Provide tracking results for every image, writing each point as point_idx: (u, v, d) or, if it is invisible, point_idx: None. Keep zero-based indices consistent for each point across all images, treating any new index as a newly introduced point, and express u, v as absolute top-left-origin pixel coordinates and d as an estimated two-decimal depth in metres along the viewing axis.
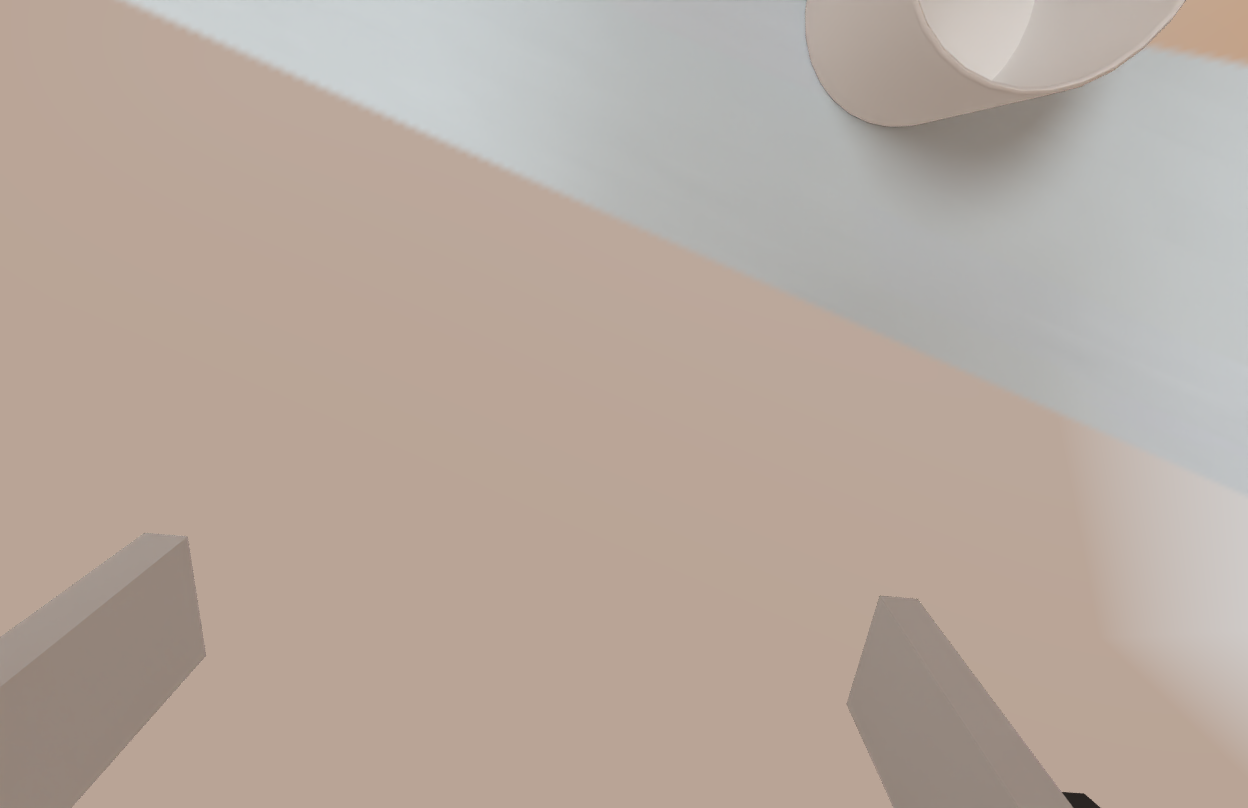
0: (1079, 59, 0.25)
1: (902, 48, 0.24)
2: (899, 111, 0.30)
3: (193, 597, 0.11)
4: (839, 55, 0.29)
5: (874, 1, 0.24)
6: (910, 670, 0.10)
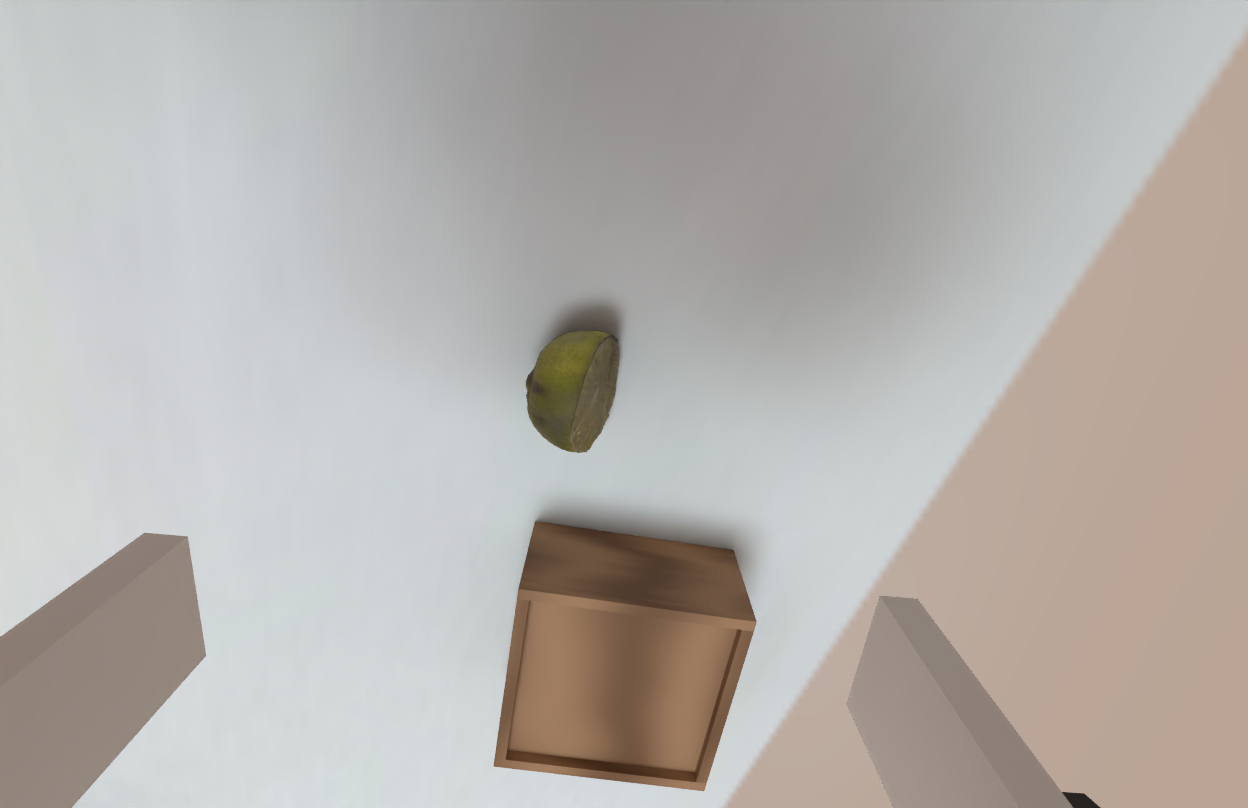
0: None
1: None
2: None
3: (194, 597, 0.11)
4: None
5: None
6: (910, 670, 0.10)
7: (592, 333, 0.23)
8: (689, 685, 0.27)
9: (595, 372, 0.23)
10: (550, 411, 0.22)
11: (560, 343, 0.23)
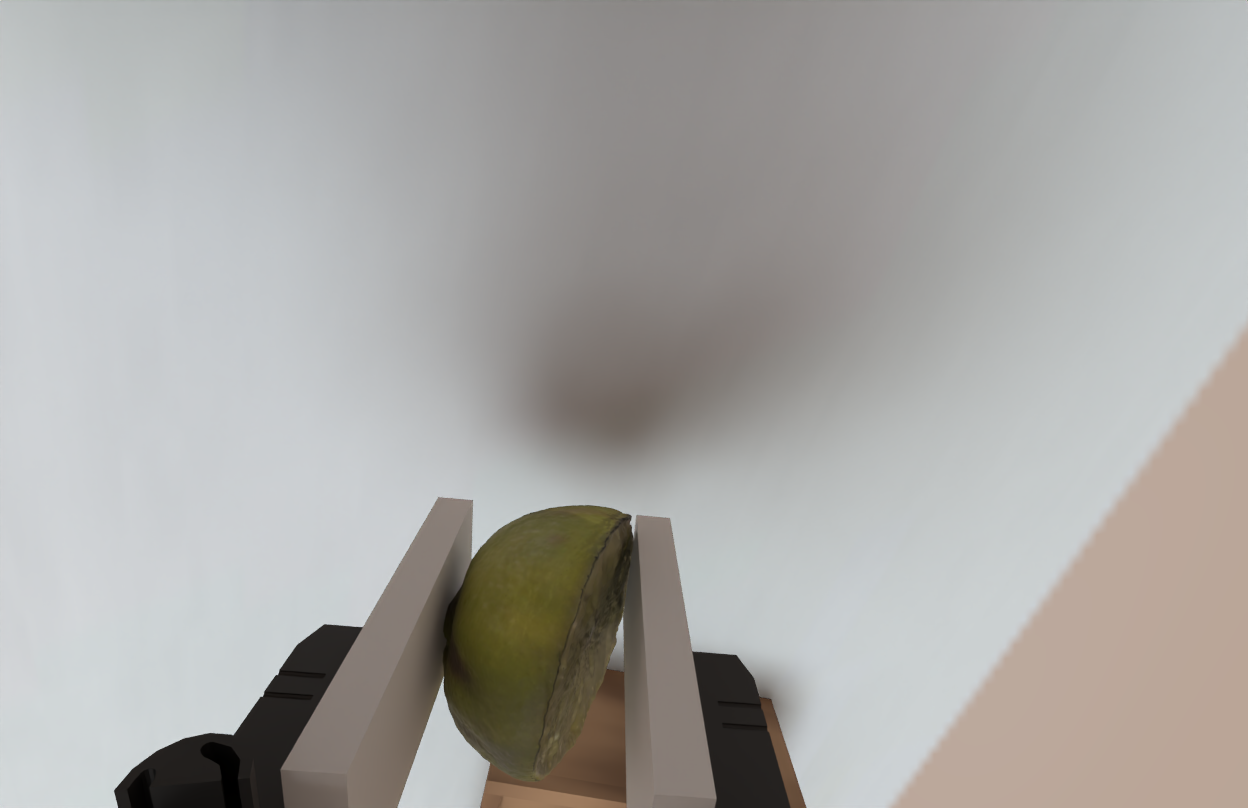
0: None
1: None
2: None
3: (469, 551, 0.13)
4: None
5: None
6: (636, 569, 0.12)
7: (579, 524, 0.11)
8: None
9: (586, 613, 0.11)
10: (485, 730, 0.10)
11: (509, 555, 0.10)
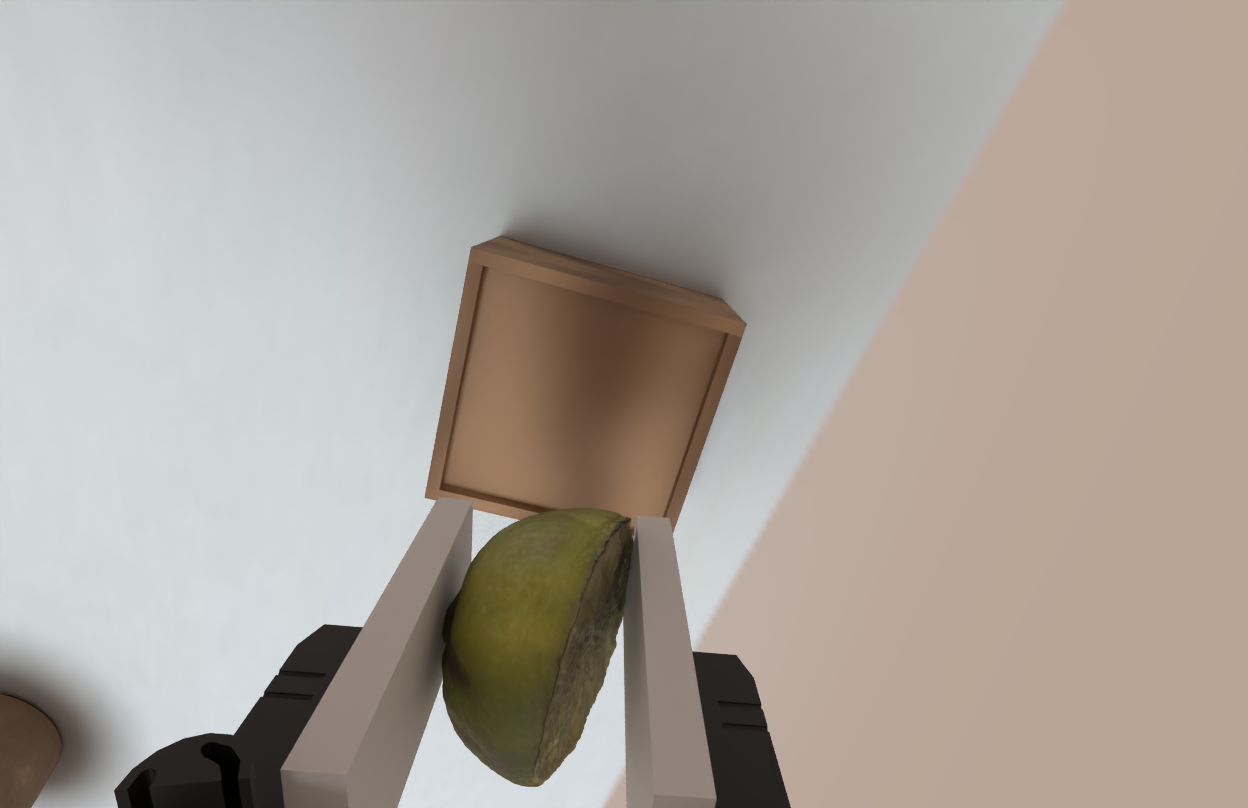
0: None
1: None
2: None
3: (469, 551, 0.13)
4: None
5: None
6: (636, 569, 0.12)
7: (578, 528, 0.11)
8: (661, 413, 0.23)
9: (586, 617, 0.11)
10: (484, 735, 0.09)
11: (508, 558, 0.10)
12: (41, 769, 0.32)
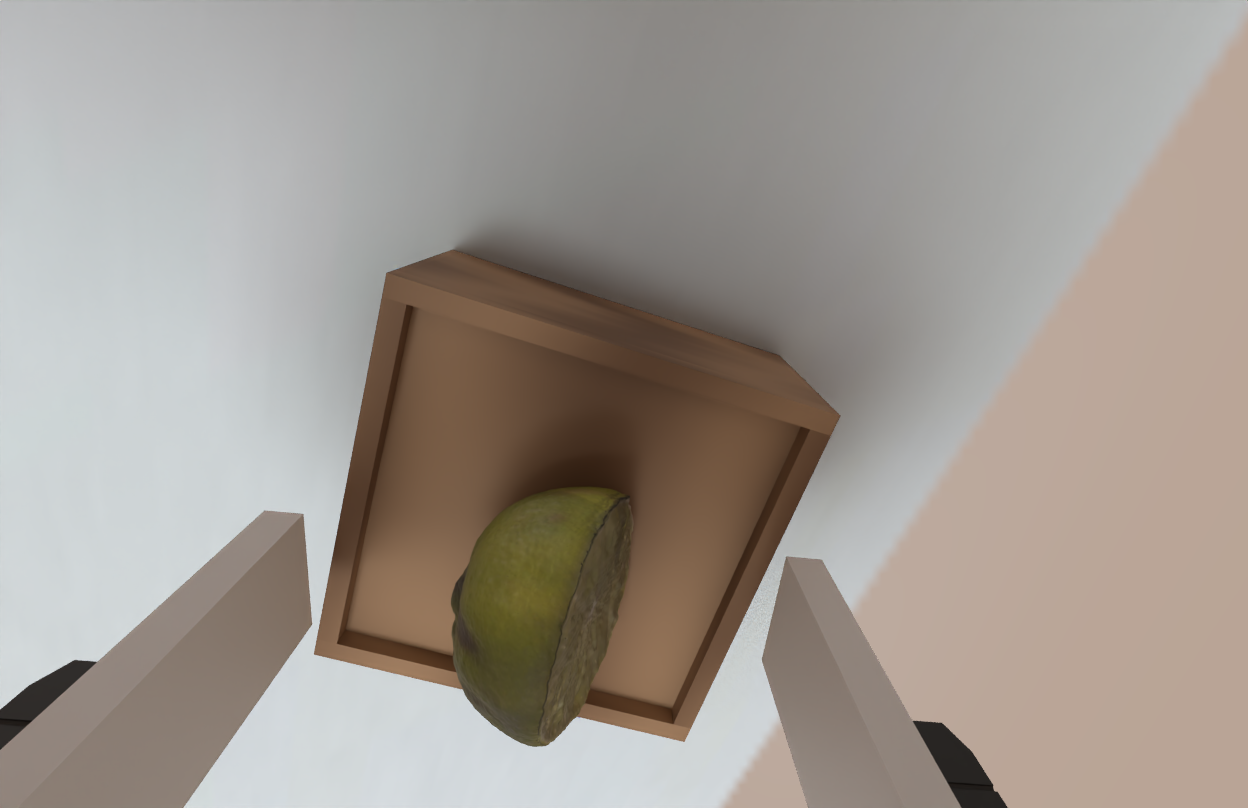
0: None
1: None
2: None
3: (305, 569, 0.12)
4: None
5: None
6: (804, 620, 0.11)
7: (578, 504, 0.11)
8: (689, 541, 0.15)
9: (586, 588, 0.11)
10: (492, 696, 0.10)
11: (512, 533, 0.11)
12: None
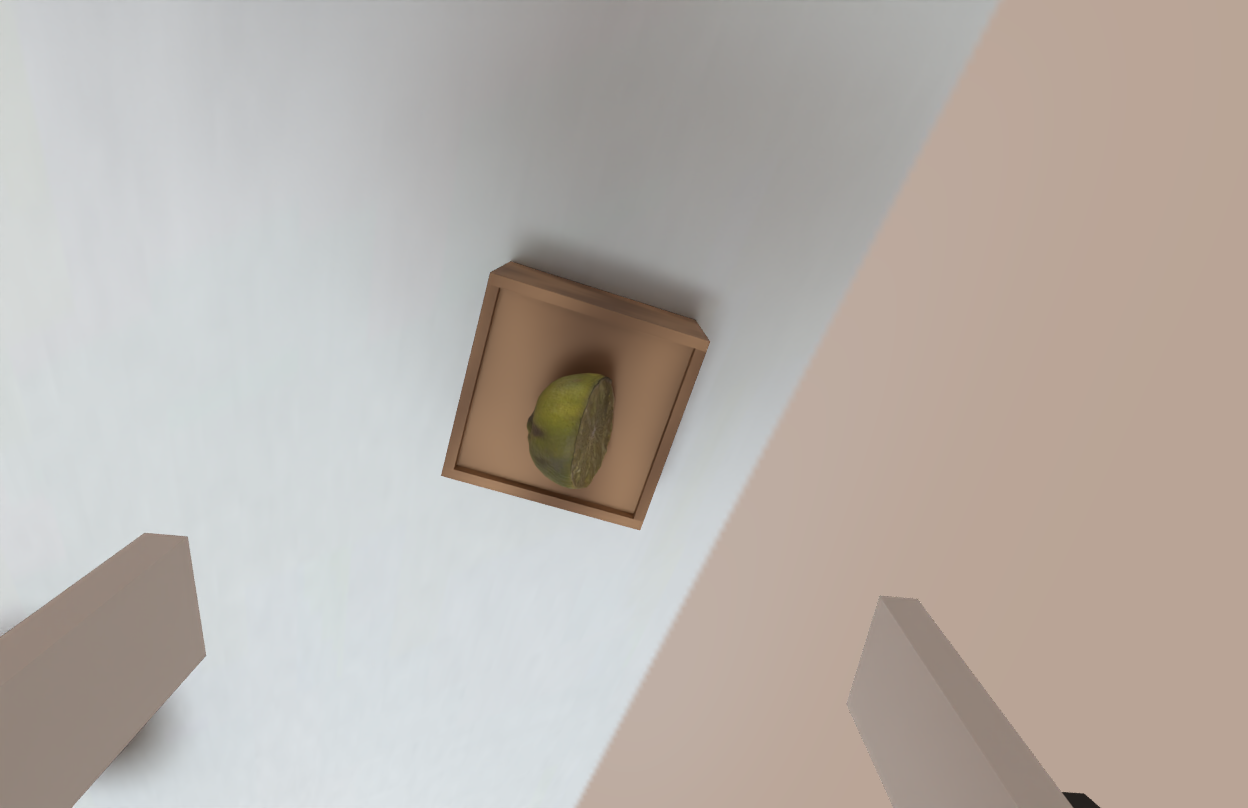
0: None
1: None
2: None
3: (194, 597, 0.11)
4: None
5: None
6: (910, 670, 0.10)
7: (587, 376, 0.25)
8: (639, 412, 0.28)
9: (591, 413, 0.24)
10: (550, 453, 0.23)
11: (557, 387, 0.24)
12: None
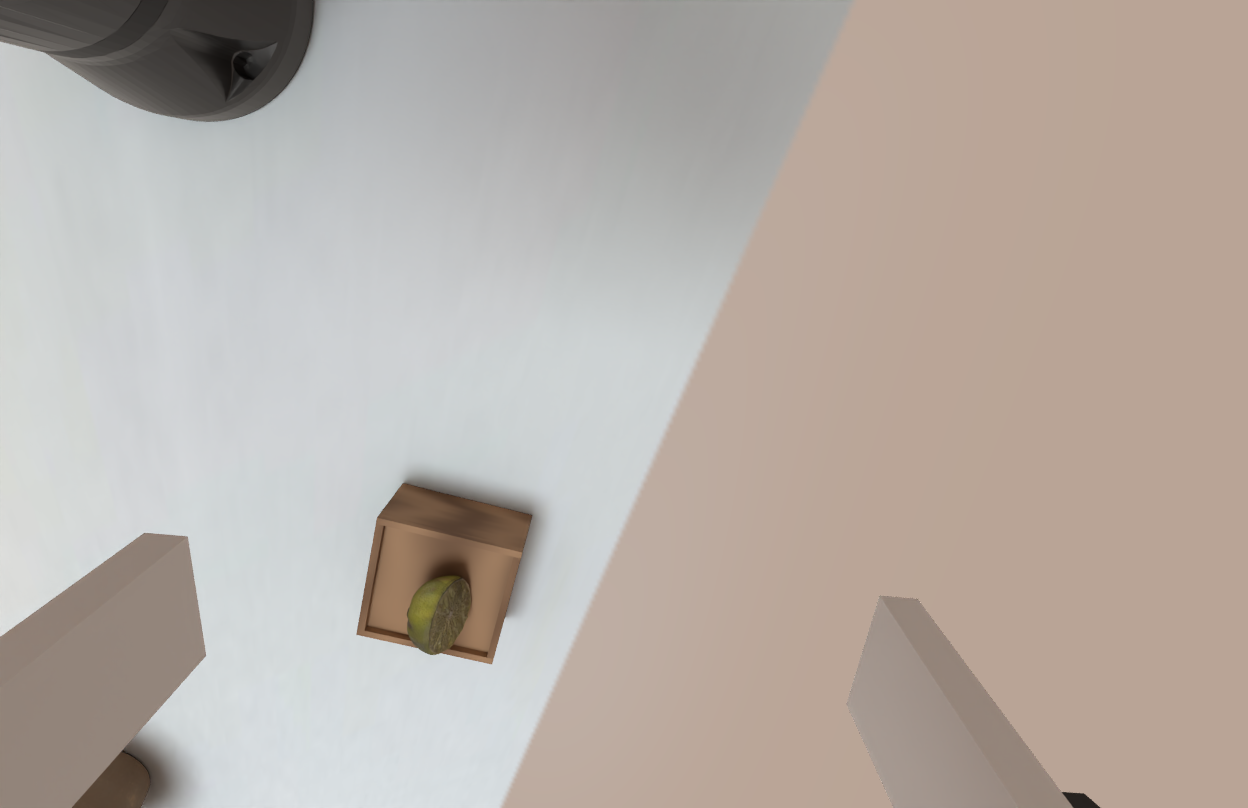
0: None
1: None
2: None
3: (194, 597, 0.11)
4: None
5: None
6: (911, 670, 0.10)
7: (440, 584, 0.39)
8: (484, 592, 0.42)
9: (443, 608, 0.39)
10: (416, 639, 0.38)
11: (421, 594, 0.39)
12: (140, 796, 0.52)
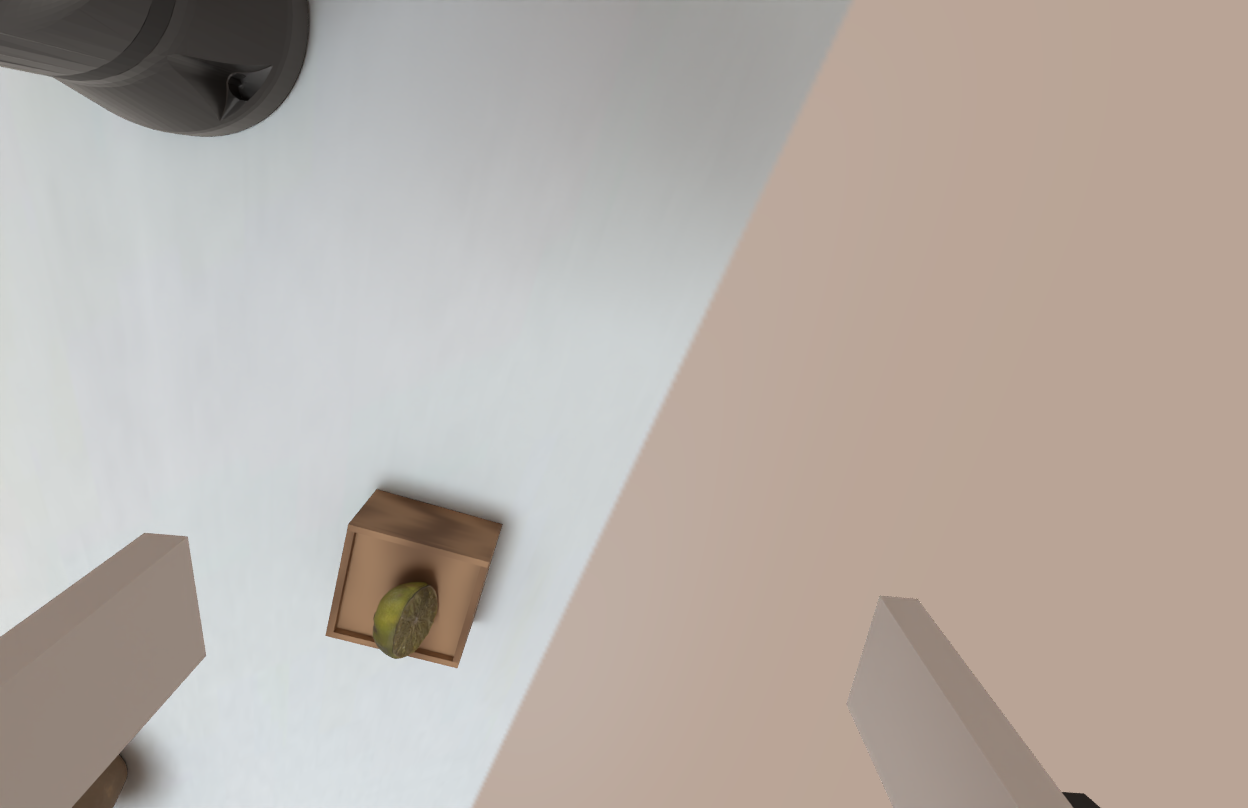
0: None
1: None
2: None
3: (194, 597, 0.11)
4: None
5: None
6: (910, 670, 0.10)
7: (407, 590, 0.40)
8: (451, 598, 0.44)
9: (409, 614, 0.40)
10: (380, 643, 0.39)
11: (387, 599, 0.40)
12: (117, 787, 0.53)
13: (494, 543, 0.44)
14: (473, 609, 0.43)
